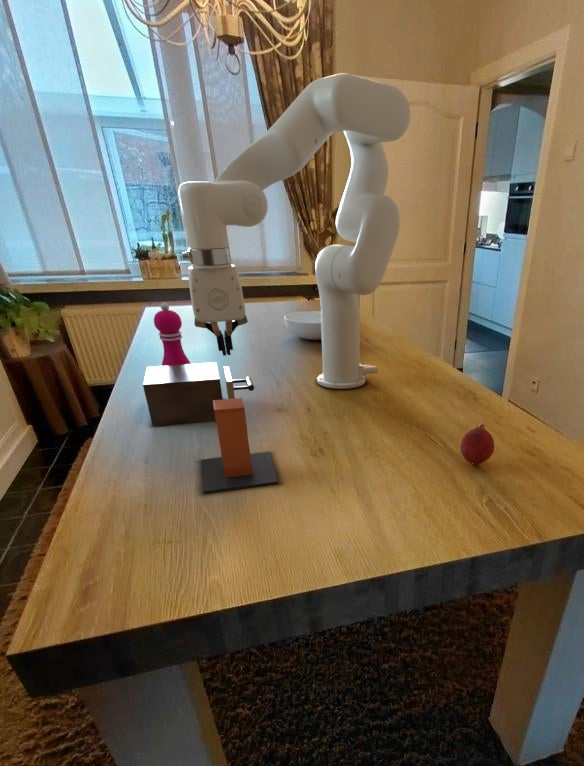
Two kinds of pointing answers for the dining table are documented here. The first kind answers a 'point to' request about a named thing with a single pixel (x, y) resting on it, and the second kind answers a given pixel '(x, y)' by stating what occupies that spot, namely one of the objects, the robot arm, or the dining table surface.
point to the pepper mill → (170, 336)
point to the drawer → (230, 382)
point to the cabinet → (182, 393)
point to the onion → (477, 445)
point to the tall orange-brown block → (233, 437)
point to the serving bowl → (305, 324)
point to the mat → (218, 482)
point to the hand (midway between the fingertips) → (226, 353)
